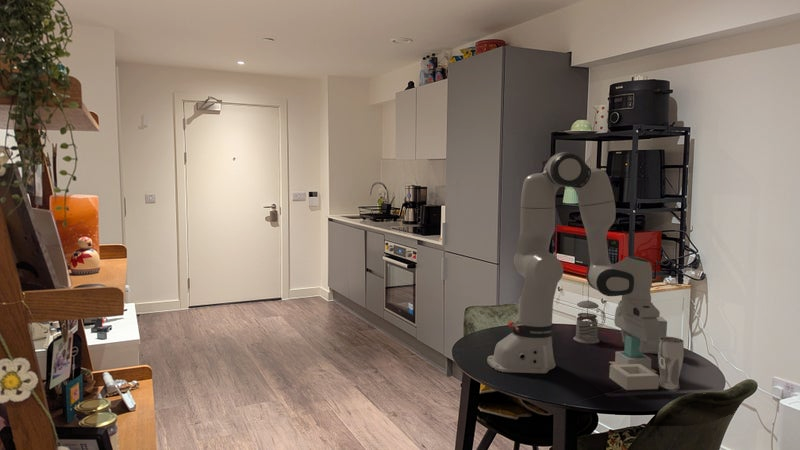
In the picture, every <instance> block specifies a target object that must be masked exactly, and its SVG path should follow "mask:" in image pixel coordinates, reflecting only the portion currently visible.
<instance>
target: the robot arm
mask: <svg viewBox="0 0 800 450" xmlns="http://www.w3.org/2000/svg"><path fill="white" fill-rule="evenodd" d="M561 187H566V188H567V187H568V188H573V190H574V191H575V193H576V196H577V204H578V207H579V208H578V209H579V213H580V217H581V220H582V221H581V222H582V224H583V227H584V231H585V235H586V245H587V251H588V266H587V269H586V273H585V274H586V275H585V278H586V281H587V283H588V286H589V287H591V288H592V289H593V290H596V291H598V292H599V293H601V294H602V295H603V296H607V297H621V300H620V301H619V302H618V304H617V306H616V308H615V314H614V325H615V327H617V328H618V329H620V333H621V336H622V343H623V344H625V336H629V334H630V335H634V336H636V337H638V338H640V342H641V344H640V346H638V351H640V352H641V353H642V354H644V352H646V347H647V345H648V343H649V342H655V341H656V340H657V338H658V328H659V323H658V319H657V318H656V317H661V316H660V315H661V313H660V312H661V311H660V310H659V309H658V308H657V307H656V306H655V305H654V303H653V302H652V296H651V295H652V294H651V290H652V289H651V288H652V285H653V269H652V264H651V262H650V261H649V260H648V259H645V258H642V257H639V256H633V255H628V256H626V257H625V258H623V259H622V260H620V261H618V262H616V263H612V262H611V260H610V256H609V249H608V248H609V247H608V241H607V235H608V231H609V230H610V228H611V227H612V226H613V225H614V223H615V221H616V214H617V213H616V211H617V209H616V201H615V196H614V191H613V187H612V184H611V181H610V178H609V176H608V174H607V172H606V171H605V170H603V169H601V168H598V167H597V168H595V167H594V168H593V167H592V168H590V166H588V164H587V163H586V162H585V161H584V160H583V159H582V157H580V155H578V154H576V153H574V152H568V151H561V152H557V153H555V154H553V155H551V157H549V158H548V159H547V161H546V162H545V164H544V166H543V167H542V170H540V172H539V173H538V172H536V173H532V174H529V175H527V177H525V178H524V180H523V184H522V189H521V195H520V222H519V223H520V225H519V226H520V227H519V228H520V229H519V236H518V242H517V246H516V247H517V248H516V252H515V254H514V257H513V265H514V268H515V269H516V271H517V273H518V274H519V275H520V276H522V277H523V278H524V284H523V287H522V288H523V289H522V292H521V295H520V296H519V299H518V315H517V316H518V317H517V318H518V319H517V321H516V322H513V321H512V320H510V321H508V322H507V326H508V327H509V328H510V329H512V330H511V331H512V332H510V334H508V335H506V336H505V337H504V338H502V339H501V340H499V341H498V342H497V343H496V345H495V346H494V347H495V348H494V351H493V352H494V353H493V354H492V355H489V356H487V360H486V362H487V364H488V365H489V366H490V367H491V368H492V369H493V368H494V370H495V371H497V370H498V372H500V371H501V372H500V373H521V374H525V373H526V374H528V373H529V374H547V373H548V372H549V371H550V370H553V369H554V368H555V367H556V365H557V364H556V362H555V358H554V351H553V340H554V338H553V337H554V323H553V313H554V311H553V309H554V308H553V307H554V299H555V295H556V291H557V287H558V283H559V282H560V281H561V279H562V278H563V274H564V267H563V264H562V262H561V261H560V259H558V256H555V254H553V253H551V252H550V245H551V240H552V238H553V236H554V234H555V231H556V197H557V196H556V195H557V192H558V190H559V189H560V188H561Z"/></svg>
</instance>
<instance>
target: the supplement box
mask: <svg viewBox="0 0 800 450" xmlns="http://www.w3.org/2000/svg"><path fill="white" fill-rule="evenodd" d="M656 318H657V319H658V323H659V328H658V338H657V340H656V341H655V342H649V343H648V345H647V347H646V352H644V353H645V354H655V355H656V354H657V355H658V345H659V338H660V337H667V332H668V331H667V330H668V321H667V320H666V319H665V318H664V317H663V316H659V317H656ZM644 353H643V354H644Z"/></svg>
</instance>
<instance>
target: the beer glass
mask: <svg viewBox="0 0 800 450" xmlns="http://www.w3.org/2000/svg"><path fill="white" fill-rule="evenodd" d="M684 346H685V344H684V340H683V339H682V338H679V337H673V336H666V337H660V338H659V345H658V354H657V362H658V369H659V371H658V373H659V383H658V387H660V388H662V389H666V390H664V392H669V393H677V392H680V380H679V379H680V373H681V371H682V366H683V363H684V362H683V361H684V357H685V356H684V354H685V352H684V350H685V347H684Z"/></svg>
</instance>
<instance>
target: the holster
mask: <svg viewBox="0 0 800 450" xmlns="http://www.w3.org/2000/svg"><path fill="white" fill-rule="evenodd" d="M614 354H615V355H614V356H615V359H614V361H608V363H610V365H625V364H641V365H642V366H644V367H646V368H647V369H649V370H651V371H652V372H654V373H658V371H657V370H656V369H653V368H652V358H651V357H650V356H648V355H646V354H644V353H642V358H628V357H627V356H625V355H624V350H622V351H615V353H614Z"/></svg>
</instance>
